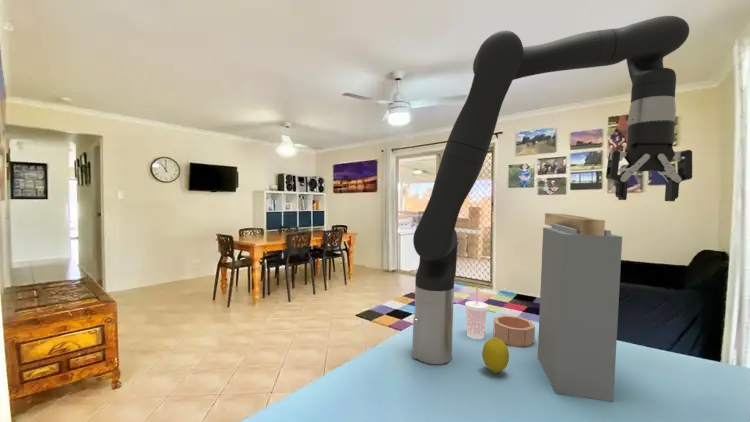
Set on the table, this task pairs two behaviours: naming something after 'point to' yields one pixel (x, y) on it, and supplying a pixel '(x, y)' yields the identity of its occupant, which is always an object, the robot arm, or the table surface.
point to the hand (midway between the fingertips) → (645, 200)
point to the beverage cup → (476, 318)
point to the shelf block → (579, 311)
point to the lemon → (495, 354)
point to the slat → (577, 223)
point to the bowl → (514, 330)
